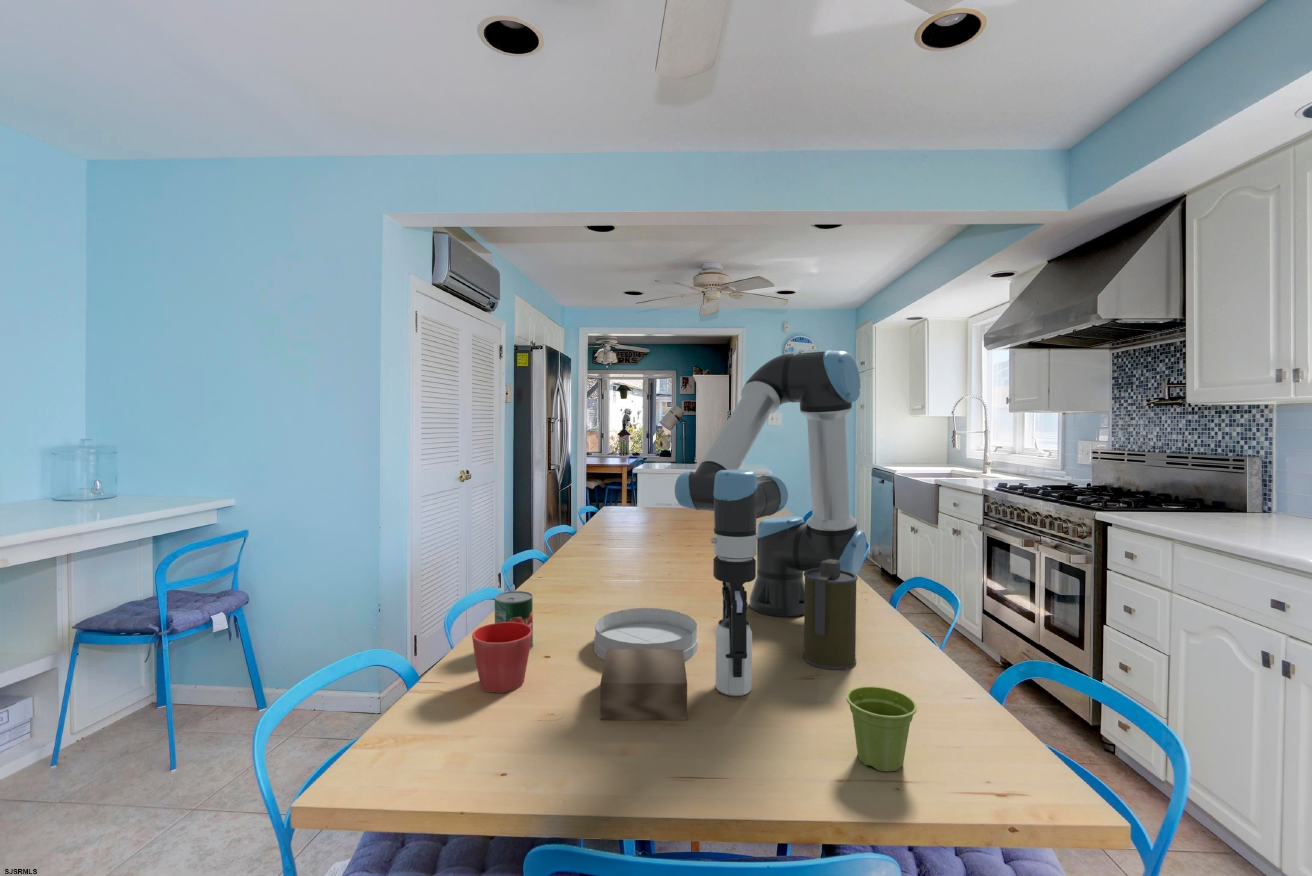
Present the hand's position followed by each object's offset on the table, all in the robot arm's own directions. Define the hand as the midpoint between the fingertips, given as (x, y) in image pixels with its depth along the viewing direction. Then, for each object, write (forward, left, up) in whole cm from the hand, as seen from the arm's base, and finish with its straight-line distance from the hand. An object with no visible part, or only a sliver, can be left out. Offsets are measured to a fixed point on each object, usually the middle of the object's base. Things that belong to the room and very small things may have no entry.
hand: (733, 683), depth 107 cm
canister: (-21, -13, -1) cm, 25 cm away
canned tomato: (+44, -19, -1) cm, 48 cm away
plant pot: (-18, +22, -1) cm, 28 cm away
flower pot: (+42, -2, -1) cm, 42 cm away
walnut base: (+16, +4, -1) cm, 17 cm away
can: (0, 0, -1) cm, 1 cm away
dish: (+16, -20, -1) cm, 26 cm away
